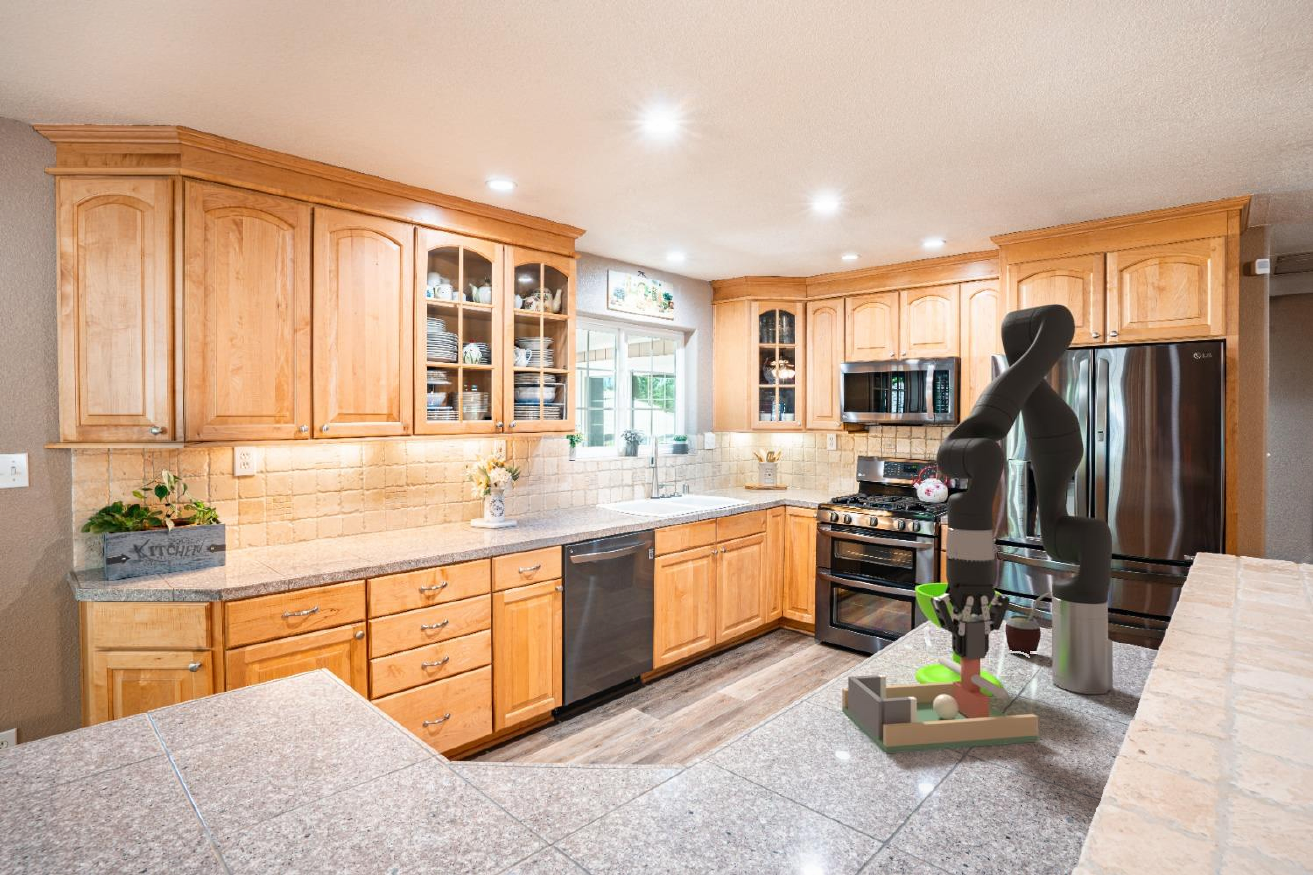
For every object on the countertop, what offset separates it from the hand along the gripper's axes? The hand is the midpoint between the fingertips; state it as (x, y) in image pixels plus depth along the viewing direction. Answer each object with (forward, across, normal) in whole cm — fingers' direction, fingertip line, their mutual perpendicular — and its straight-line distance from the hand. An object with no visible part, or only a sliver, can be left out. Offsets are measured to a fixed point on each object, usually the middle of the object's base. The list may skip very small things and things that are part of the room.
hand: (970, 654), depth 112 cm
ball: (+9, +5, 0) cm, 10 cm away
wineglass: (+12, -9, -18) cm, 24 cm away
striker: (+10, 0, 0) cm, 10 cm away
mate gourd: (+12, -34, -31) cm, 48 cm away
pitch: (+12, +7, 0) cm, 13 cm away
